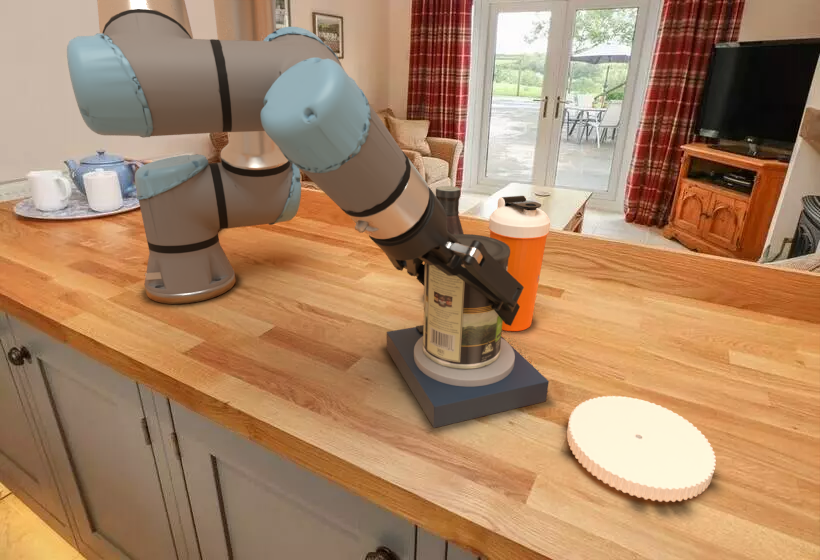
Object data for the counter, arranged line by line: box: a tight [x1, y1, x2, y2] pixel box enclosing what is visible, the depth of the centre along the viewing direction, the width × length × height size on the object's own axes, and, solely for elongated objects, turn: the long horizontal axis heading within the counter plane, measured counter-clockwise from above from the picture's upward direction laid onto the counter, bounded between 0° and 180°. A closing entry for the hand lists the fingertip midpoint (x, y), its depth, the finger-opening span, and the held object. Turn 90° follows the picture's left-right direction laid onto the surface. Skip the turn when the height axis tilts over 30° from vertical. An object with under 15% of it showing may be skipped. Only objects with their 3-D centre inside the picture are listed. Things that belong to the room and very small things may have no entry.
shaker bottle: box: [488, 195, 551, 332], centre depth 76 cm, size 9×9×20 cm
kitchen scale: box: [386, 324, 550, 429], centre depth 65 cm, size 18×15×4 cm
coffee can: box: [422, 233, 510, 369], centre depth 61 cm, size 10×10×14 cm
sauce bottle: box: [435, 185, 465, 234], centre depth 83 cm, size 7×6×20 cm
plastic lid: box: [566, 395, 717, 503], centre depth 52 cm, size 14×14×2 cm
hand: (476, 302), depth 64 cm, fingers closed on coffee can, 10 cm apart
